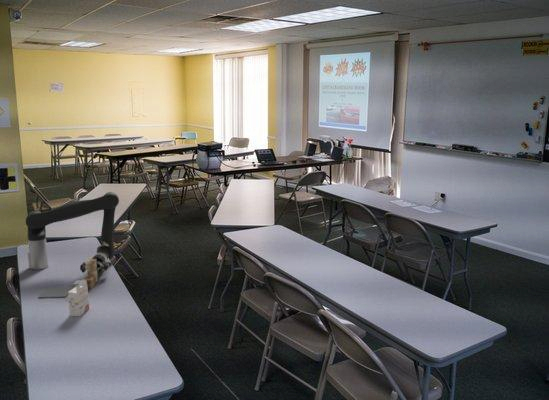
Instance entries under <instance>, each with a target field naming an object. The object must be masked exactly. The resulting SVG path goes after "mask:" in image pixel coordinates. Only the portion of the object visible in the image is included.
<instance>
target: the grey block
mask: <svg viewBox="0 0 549 400" xmlns="http://www.w3.org/2000/svg"><path fill="white" fill-rule="evenodd" d="M84 281H86V280H82V279H76V280H75V281H74V282H73V284H72V286H73V288H75V287H76V286H78V285H79V284H81V283H82V282H84ZM81 286H83V285H81Z"/></svg>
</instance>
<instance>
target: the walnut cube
mask: <svg viewBox="0 0 549 400" xmlns="http://www.w3.org/2000/svg"><path fill="white" fill-rule="evenodd" d="M81 280H86V281H87V286H88V290H93V288H94V287H95V282H94V277H88V276H84V277H82V279H81Z"/></svg>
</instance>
